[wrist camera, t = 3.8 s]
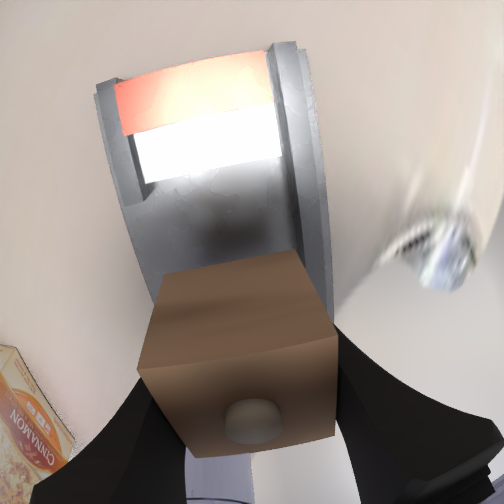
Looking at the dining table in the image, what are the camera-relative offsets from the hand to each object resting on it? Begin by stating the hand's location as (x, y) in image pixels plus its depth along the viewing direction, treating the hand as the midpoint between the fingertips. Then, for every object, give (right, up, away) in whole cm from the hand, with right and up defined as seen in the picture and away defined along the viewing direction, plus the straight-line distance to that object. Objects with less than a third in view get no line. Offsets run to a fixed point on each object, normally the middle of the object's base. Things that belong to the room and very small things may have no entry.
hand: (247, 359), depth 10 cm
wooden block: (0, +1, +2) cm, 2 cm away
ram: (-2, +10, +3) cm, 11 cm away
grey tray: (-1, +6, +6) cm, 8 cm away
